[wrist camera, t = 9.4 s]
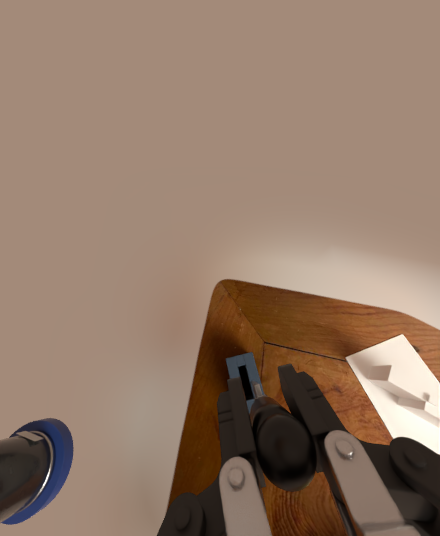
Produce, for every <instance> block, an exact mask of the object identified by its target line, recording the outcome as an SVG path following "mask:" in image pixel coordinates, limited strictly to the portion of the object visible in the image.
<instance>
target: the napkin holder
mask: <svg viewBox="0 0 440 536" xmlns="http://www.w3.org/2000/svg"><path fill="white" fill-rule="evenodd" d="M345 358H346V360H347V361H348V363H349V365H350V366H351V368H352V370H353V371H354V373H355V375H356V376H357V378H358V380H359V382H360V383H361V385H362V387H363V388H364V390H365V392H366V393H367V395H368V397H369V398H370V400H371V402H372V403H373V405H374V407H375V409H376V410H377V412H378V414H379V415H380V417H381V419H382V420H383V422H384V424H385V425H386V427H387V429H388V431H389V432H390V434H391V436H392V437H393V439H394V438H397V437H407V438H411V439H414V440H416V441H418V442H420V443H421V444H423V445H425V446H426V447H428V448H429V449H431V450H433V451H434V452H436V453H437V454H440V383H439V382H438V380H437V379H436V378H435V376H434V375H433V374H432V372H431V371H430V370H429V368H428V367H427V366H426V364H425V363H424V362H423V360H422V359H421V358H420V356H419V355H418V354H417V352H416V351H415V350H414V348H413V347H412V346H411V344H410V343H409V342H408V340H407V339H406V338H405V336H404V335H403V334H402V335H399V336H397V337H394V338H392V339H389V340H387V341H384V342H382V343H380V344H377V345H375V346H372V347H370V348H367V349H365V350H362V351H360V352H357V353H355V354H353V355H350V356H348V357H345Z"/></svg>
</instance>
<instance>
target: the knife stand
mask: <svg viewBox="0 0 440 536" xmlns="http://www.w3.org/2000/svg"><path fill="white" fill-rule="evenodd" d="M226 363H227V367H228V372H229V376H230V379H233V378H236V377H240V379H241V376H240V372H239V367H243V366H245V368H246V372H247V375H248V379H249V383H250V387H251V391H252V395H249V396H246V397H245V398H246V402H247V407H248V411H249V413H250V410H251V406H252V404H253V403H254V397H255V395H254V392H253V388H252V384H251V381H255V382H257V383H258V384H259V385H260V388H261V392H262V395H264V392H263V389H262V385H261V382H260V378H259V375H258V371H257V367H256V364H255V360H254V357H253V353H252V352H250V353H246V354H242V355H238V356H234V357H230V358H226ZM241 383H242V380H241ZM242 387H243V384H242ZM243 391H244V389H243ZM244 394H245V393H244Z"/></svg>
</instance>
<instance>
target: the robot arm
mask: <svg viewBox="0 0 440 536" xmlns="http://www.w3.org/2000/svg"><path fill="white" fill-rule="evenodd" d="M278 372H279V378H280V383H281V388H282V392H283V395H284V398H285V400H286V403H287V405H288V407H289V410H290V412H291V414H292V415H293V416H294V417H295V418H296V419H298V420H299V421H300V422H301V423H302V424H303V425H304V426H305V427H306V429H307V430H308V432H309V433H310V435H311V437H312V439H313V442H314V444H315V448H316V454H317V467H316V472H317V473H319V472H324V474H325V476H326V479H327V481H328V483H329V488H330V493H331V496H332V498H333V501H334V504H335V507H336V509H337V512H338V515H339V517H340V520H341V523H342V526H343V528H344V531H345V534H346V536H440V455H439V454H437V453H436V452H434V451H433V450H431V449H429V448H428V447H426V446H425V445H423V444H421V443H420V442H418V441H416V440H414V439H411V438H407V437H397V438H394V439H393V440H392V441H391V442H390V445H381V444H373V443H367V442H364V441H361V440H359V439H357V438H356V437H354V436H353V435H351V434H350V433H349V432H348V431H347V430H346V429H345V427H344V426H343V424H342V423H341V421H340V420H339V418H338V417H337V415H336V414H335V412H334V410H333V409H332V407H331V406H330V404H329V403H328V401H327V400H326V398H325V397H324V395H323V393H322V392H321V390H320V389H319V388H318V386H317V384H316V383H315V381H314V379H313V378H312V377H311V376H309V375H308V374H307V373H305V372H304V371H303V372H299V373H296V371H295V369H294V368H293V366H292V364H287V365H283V366H279V367H278ZM227 382H228V389H229V391H226V392H222V393H220V395H219V398H218V402H217V408H218V420H219V433H220V445H221V457H222V462H221V468H220V472H219V474H218V476H217V478H216V480H215V481H214V482H213V483H212V484H211V485H210V486H209V487H208V488H207V489H205V490H204V491H203V492H201V493H200V494H199V495H197V496H196V495H194V494H193V493H183V494H181V495H180V496H178V497H177V498H176V499H175V500H174V501H173V502H172V504H171V505H170V507H169V509H168V511H167V513H166V516H165V518H164V520H163V523H162V525H161V527H160V529H159V532H158V534H157V536H272V534H271V530H270V527H269V523H268V520H267V516H266V508H265V503H264V498H263V494H262V489H261V488H262V487H266V484H265V480H264V476H263V471H262V469H261V467H260V465H259V462H258V459H257V450H256V446H255V440H254V434H253V428H252V424H251V419H250V415H249V411H248V407H247V402H246V398H245V394H244V391H243V387H242V383H241V379H240V377H236V378H233V379H229V380H227ZM16 434H19V435H18V436H14V437H10V438H6V439H3V440H0V523H1V522H3V521H4V520H6V519H8V518H9V517H11V516H13V515H14V514H16V513H19V512H20V511H22V510H24V509H25V508H27V507H29V506H30V505H31V504H33V503H34V502H35V501H36V500H37V499H38V498H39V497H40V495H41V494H42V493H43V491H44V490H45V488H46V487H47V485H48V483H49V481H50V479H51V476H52V473H53V470H54V466H55V460H56V450H55V445H54V442H53V440H52V438H51V437H50V436H49V435H48V434H47V433H46V432H44V431H40V430H34V431H29V432H27V431H23V432H19V433H16Z"/></svg>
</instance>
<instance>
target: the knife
mask: <svg viewBox="0 0 440 536" xmlns="http://www.w3.org/2000/svg"><path fill="white" fill-rule="evenodd" d="M251 384H252V388H253V392H254V395H255V397H254V403H253V404H252V406H251V410H250V418H251V424H252V428H253V434H254V440H255V446H256V450H257V459H258V462H259V465H260V467H261V469H262V471H263V473H264V474H265V475H266V477H267V478H268V479H269V480H270V481H271V482H272V483H273V484H274V485H275V486H277V487H278V488H280V489H283V490H285V491H291V492H294V491H299V490H302V489H304V488H305V487H306V486H308V485H309V483H310V482H311V481H312V479H313V477H314V475H315V471H316V467H317V454H316V448H315V444H314V442H313V439H312V437H311V435H310V433H309V432H308V430H307V429H306V427H305V426H304V425H303V424H302V423H301V422H300V421H299V420H298V419H296V418H295V417H294V416H293V415H292V414H291V413H289V412H288V411H287V410H286V409H285V408H283V407H282V406H281V405H280V404H279V403H277V402H276V401H275V400H274V399H272V398H270V397H267V395H262V392H261V388H260V385H259V384H258V383H257V382H255V381H251Z"/></svg>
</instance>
